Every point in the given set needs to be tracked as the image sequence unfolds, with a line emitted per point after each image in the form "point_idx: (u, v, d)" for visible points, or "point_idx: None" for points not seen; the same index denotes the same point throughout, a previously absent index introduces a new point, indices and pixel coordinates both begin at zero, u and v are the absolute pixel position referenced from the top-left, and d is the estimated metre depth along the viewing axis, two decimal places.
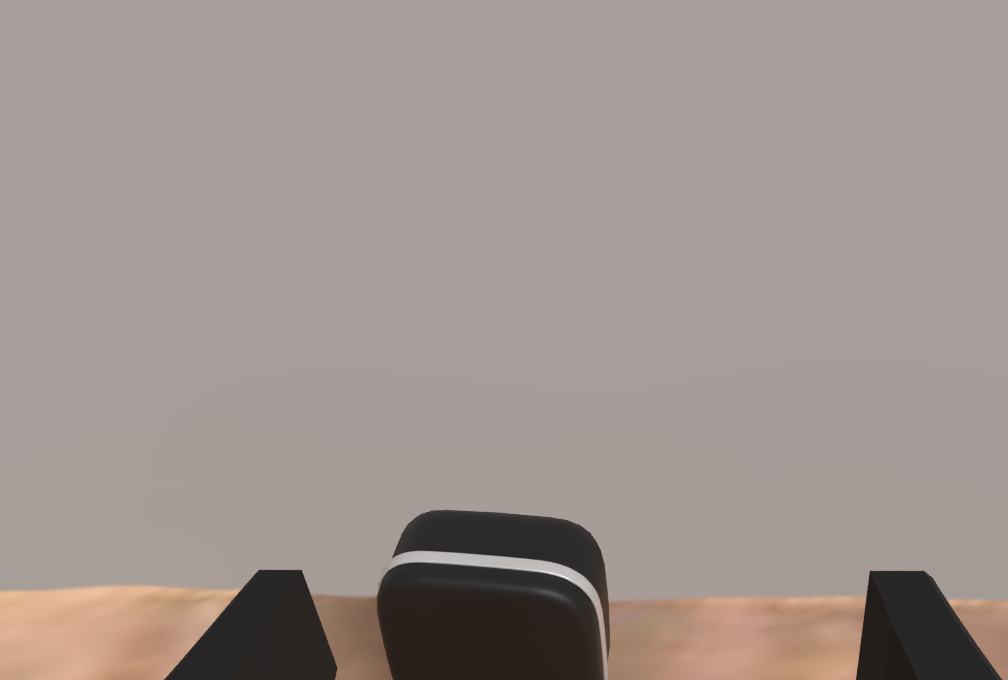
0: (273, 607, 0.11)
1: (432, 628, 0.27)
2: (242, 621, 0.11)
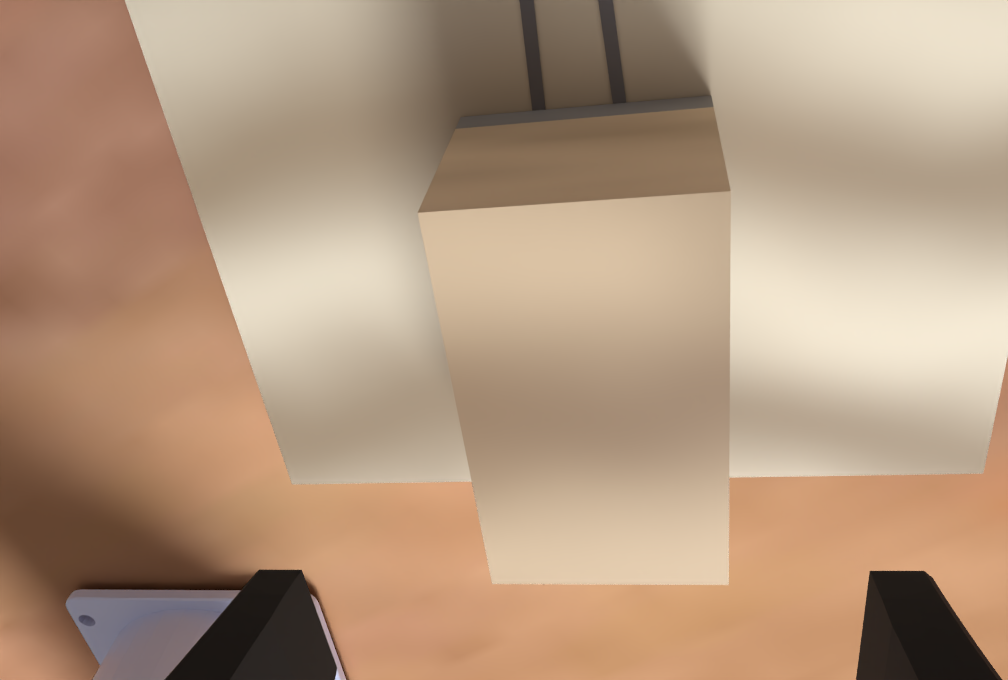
0: (273, 607, 0.11)
1: None
2: (242, 621, 0.11)
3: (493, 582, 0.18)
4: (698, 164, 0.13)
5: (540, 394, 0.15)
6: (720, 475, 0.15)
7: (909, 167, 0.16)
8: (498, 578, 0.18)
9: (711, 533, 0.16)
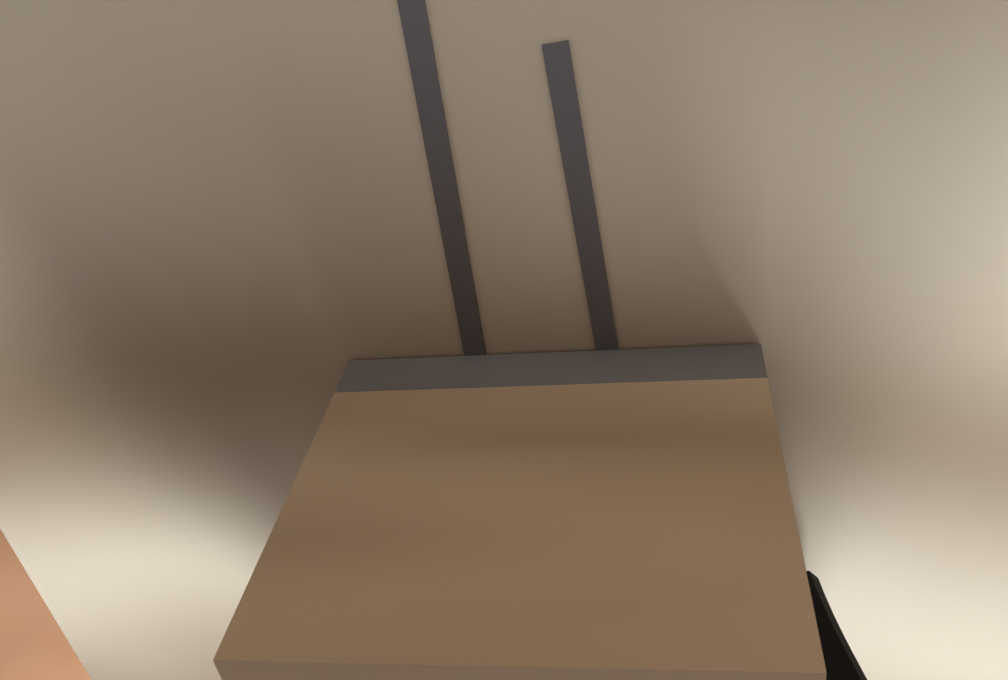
0: None
1: None
2: None
3: None
4: (751, 561, 0.07)
5: None
6: None
7: None
8: None
9: None
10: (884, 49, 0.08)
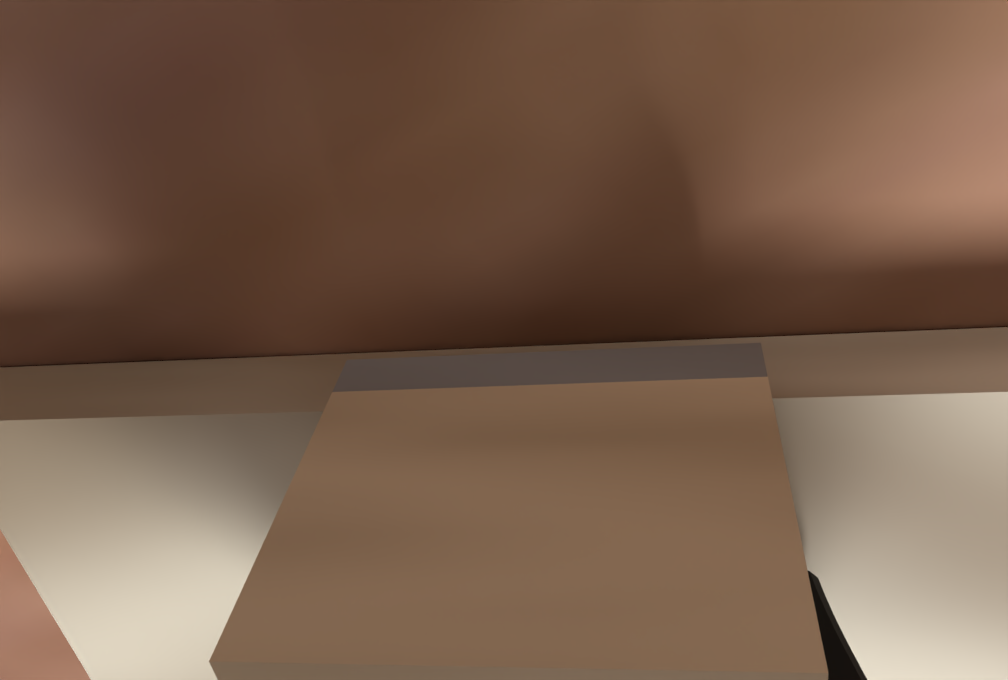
0: None
1: None
2: None
3: None
4: (753, 561, 0.07)
5: None
6: None
7: None
8: None
9: None
10: None
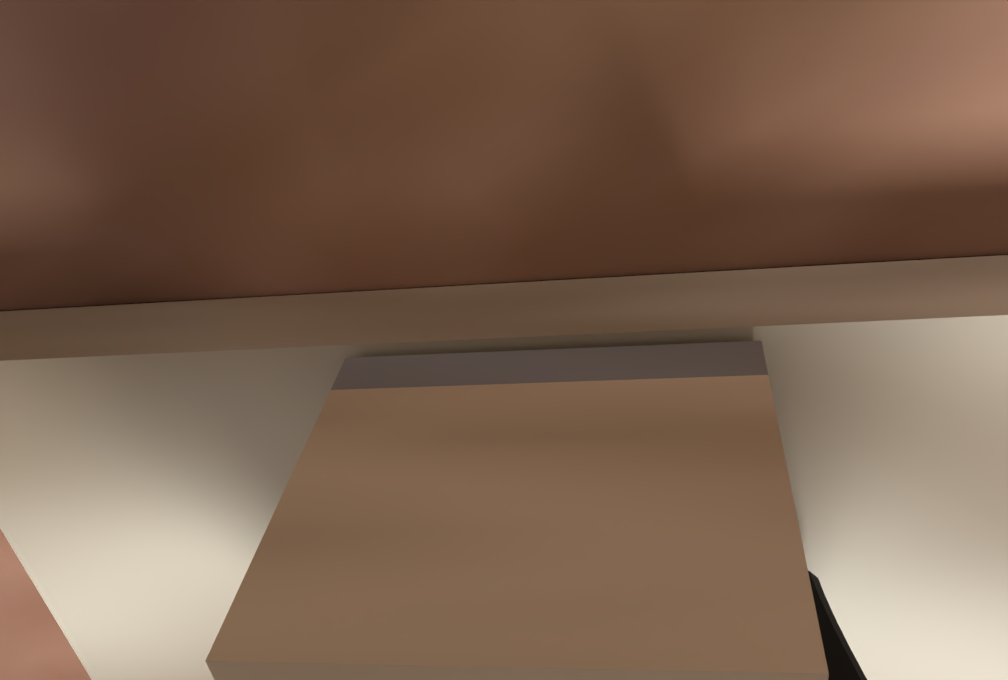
0: None
1: None
2: None
3: None
4: (754, 560, 0.07)
5: None
6: None
7: None
8: None
9: None
10: (829, 591, 0.11)
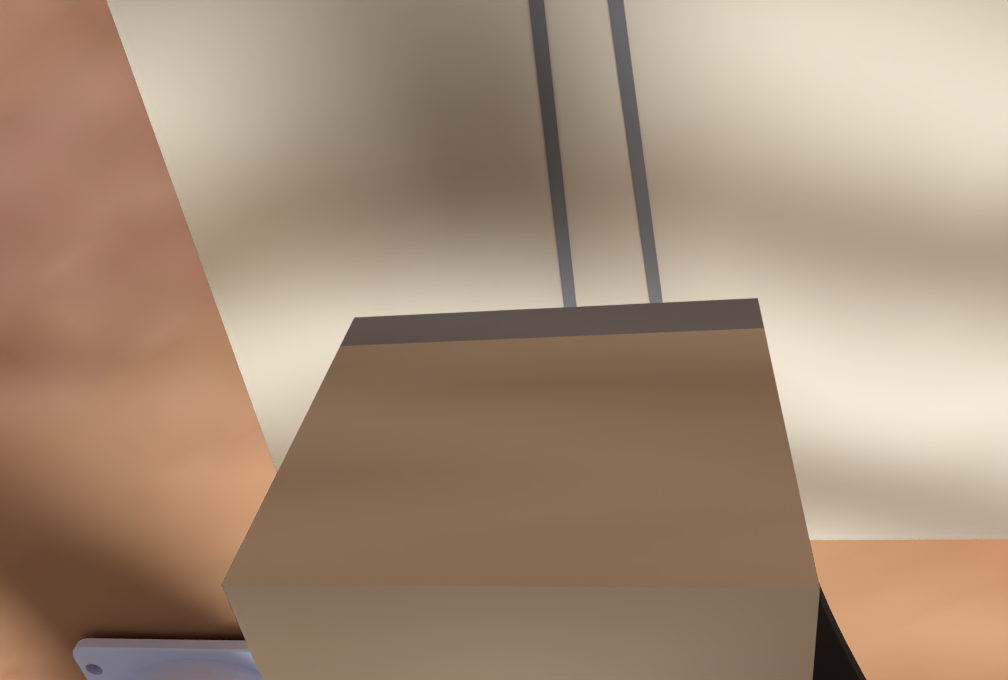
0: None
1: None
2: None
3: None
4: (748, 490, 0.07)
5: None
6: None
7: (936, 240, 0.16)
8: None
9: None
10: None
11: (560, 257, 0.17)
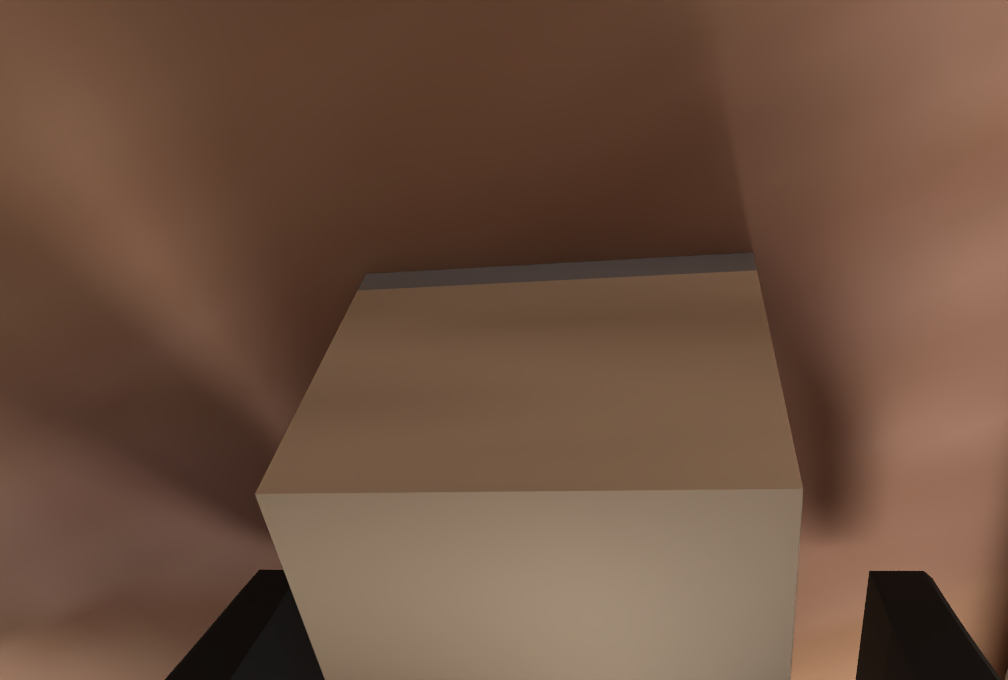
0: (274, 607, 0.11)
1: None
2: (243, 621, 0.11)
3: None
4: (739, 409, 0.08)
5: None
6: None
7: None
8: None
9: None
10: None
11: None
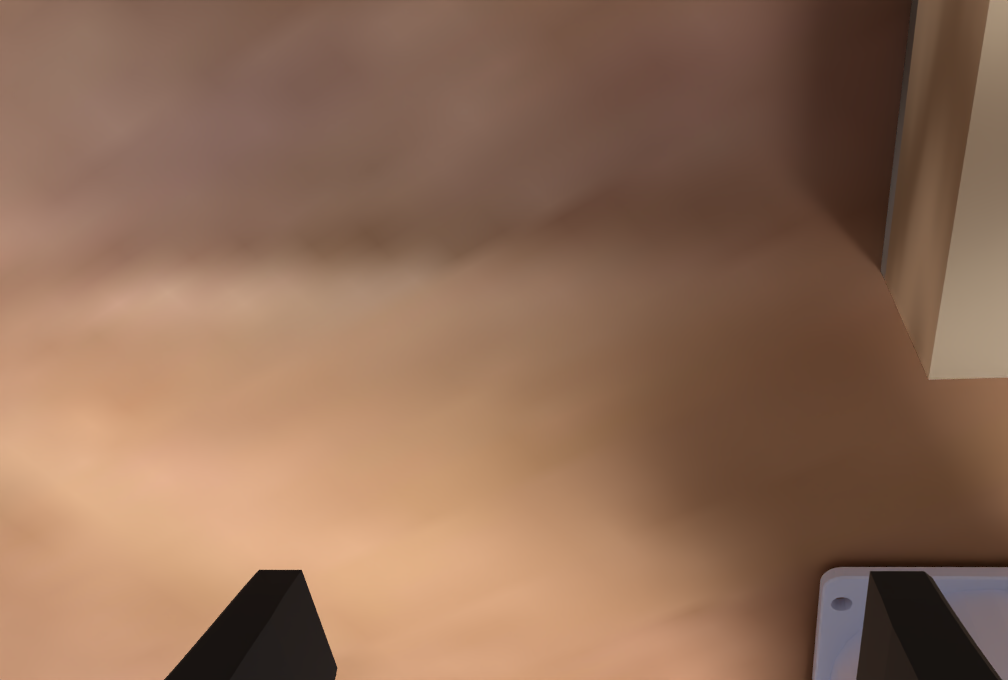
0: (273, 607, 0.11)
1: None
2: (242, 621, 0.11)
3: (929, 378, 0.16)
4: None
5: None
6: None
7: None
8: (938, 372, 0.16)
9: None
10: None
11: None
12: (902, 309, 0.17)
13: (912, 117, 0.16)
